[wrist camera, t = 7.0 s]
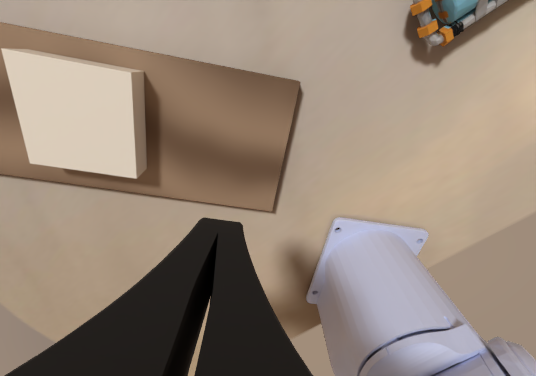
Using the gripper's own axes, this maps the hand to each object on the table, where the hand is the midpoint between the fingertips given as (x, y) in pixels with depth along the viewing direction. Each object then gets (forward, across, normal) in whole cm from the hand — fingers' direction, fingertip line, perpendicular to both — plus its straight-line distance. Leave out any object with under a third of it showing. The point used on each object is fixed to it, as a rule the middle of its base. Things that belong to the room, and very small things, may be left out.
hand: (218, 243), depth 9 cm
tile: (+8, +6, -1) cm, 10 cm away
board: (+10, +7, 0) cm, 12 cm away
